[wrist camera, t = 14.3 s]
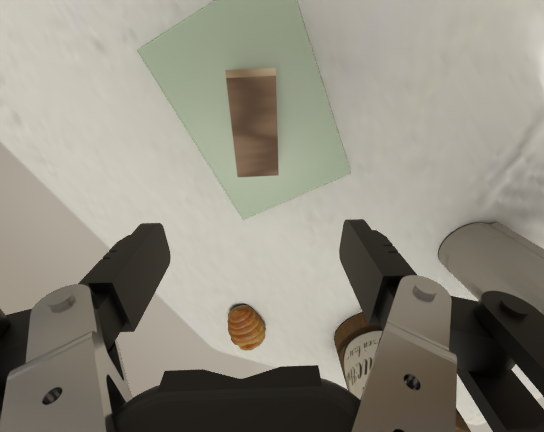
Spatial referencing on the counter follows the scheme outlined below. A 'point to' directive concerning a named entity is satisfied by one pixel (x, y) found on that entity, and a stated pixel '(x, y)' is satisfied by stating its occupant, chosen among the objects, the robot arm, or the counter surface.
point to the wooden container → (364, 356)
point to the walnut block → (254, 120)
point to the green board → (215, 105)
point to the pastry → (245, 327)
